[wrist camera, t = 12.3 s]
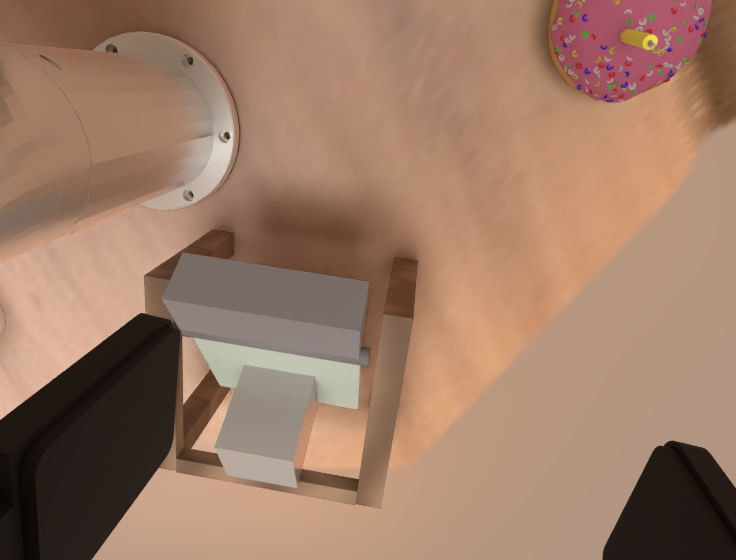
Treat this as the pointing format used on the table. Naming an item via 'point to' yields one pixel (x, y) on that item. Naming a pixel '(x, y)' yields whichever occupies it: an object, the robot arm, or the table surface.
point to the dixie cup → (2, 321)
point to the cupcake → (624, 43)
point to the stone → (268, 426)
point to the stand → (211, 394)
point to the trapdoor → (273, 322)
